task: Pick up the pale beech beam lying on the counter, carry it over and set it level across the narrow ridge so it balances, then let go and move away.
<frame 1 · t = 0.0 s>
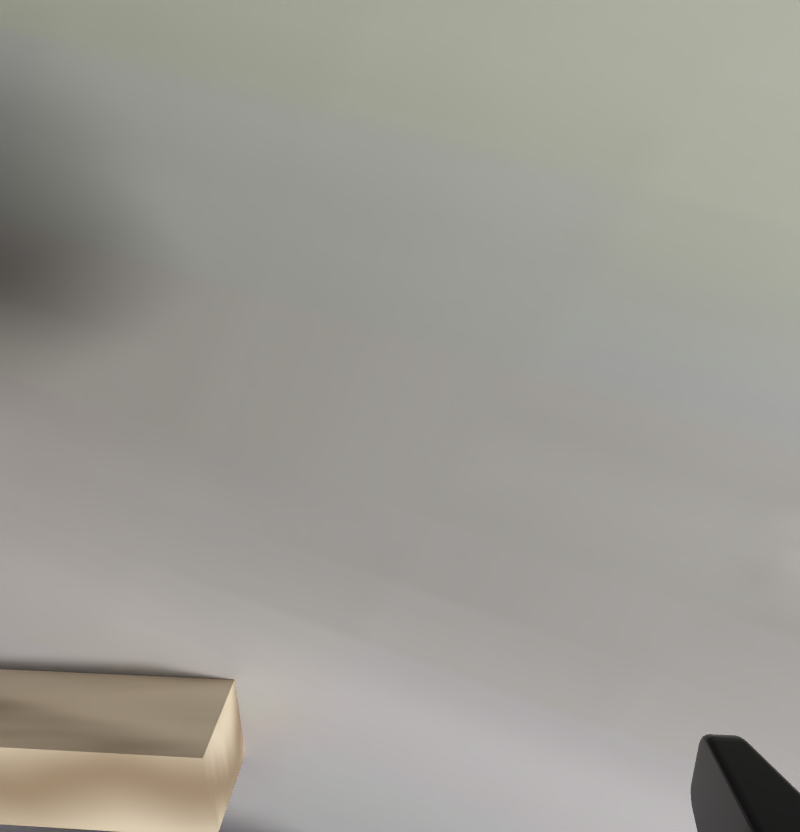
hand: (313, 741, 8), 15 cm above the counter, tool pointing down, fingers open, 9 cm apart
beam: (54, 703, 29), on the counter
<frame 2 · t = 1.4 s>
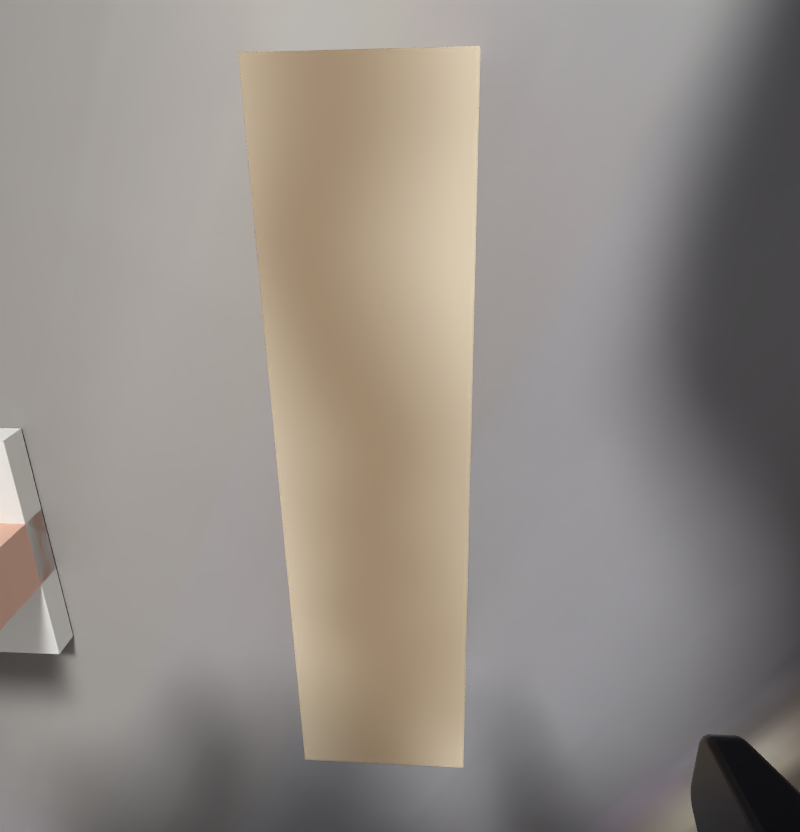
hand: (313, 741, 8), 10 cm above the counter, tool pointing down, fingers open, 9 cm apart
beam: (390, 409, 18), on the counter
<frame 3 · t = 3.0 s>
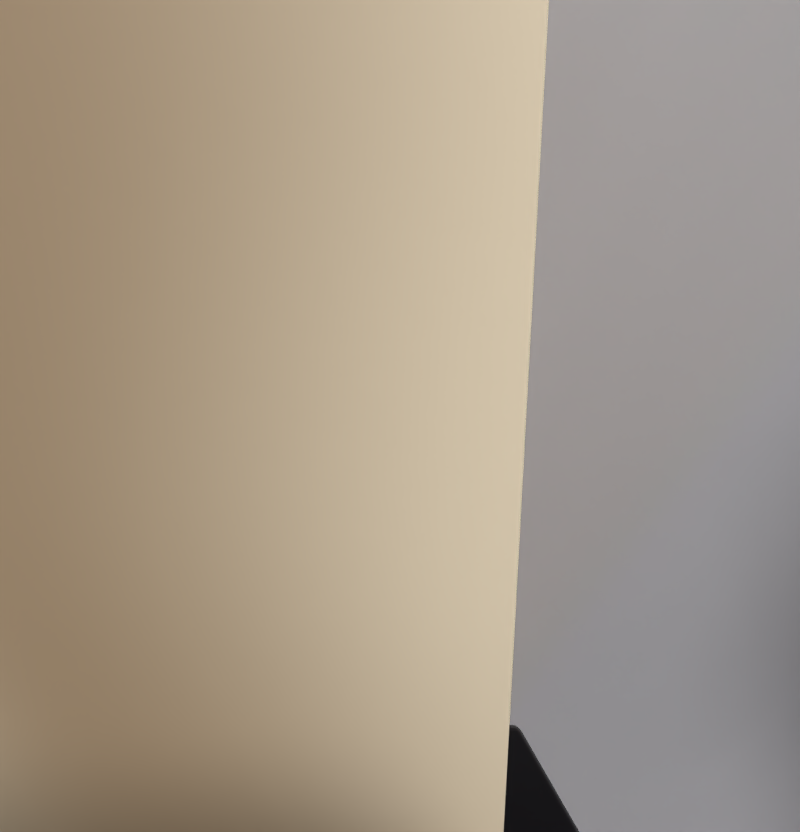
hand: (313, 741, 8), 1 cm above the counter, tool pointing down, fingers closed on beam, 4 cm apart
beam: (330, 667, 9), on the counter, touching gripper
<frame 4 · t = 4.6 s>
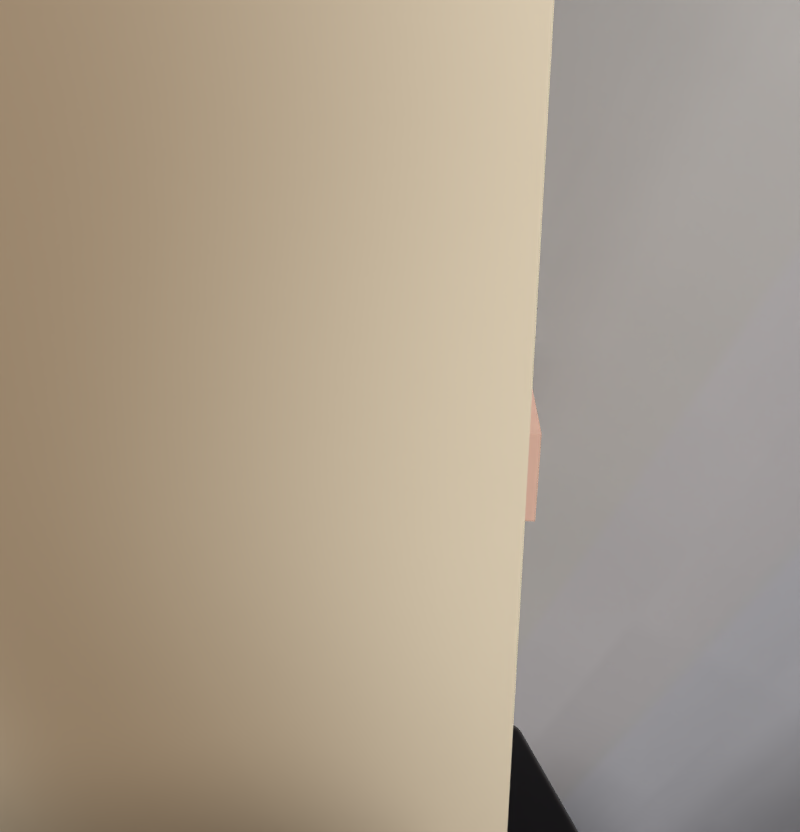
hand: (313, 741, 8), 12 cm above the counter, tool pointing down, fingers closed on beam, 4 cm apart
fulcrum: (373, 384, 19), on the counter
beam: (331, 673, 9), point 10 cm above the counter, touching gripper
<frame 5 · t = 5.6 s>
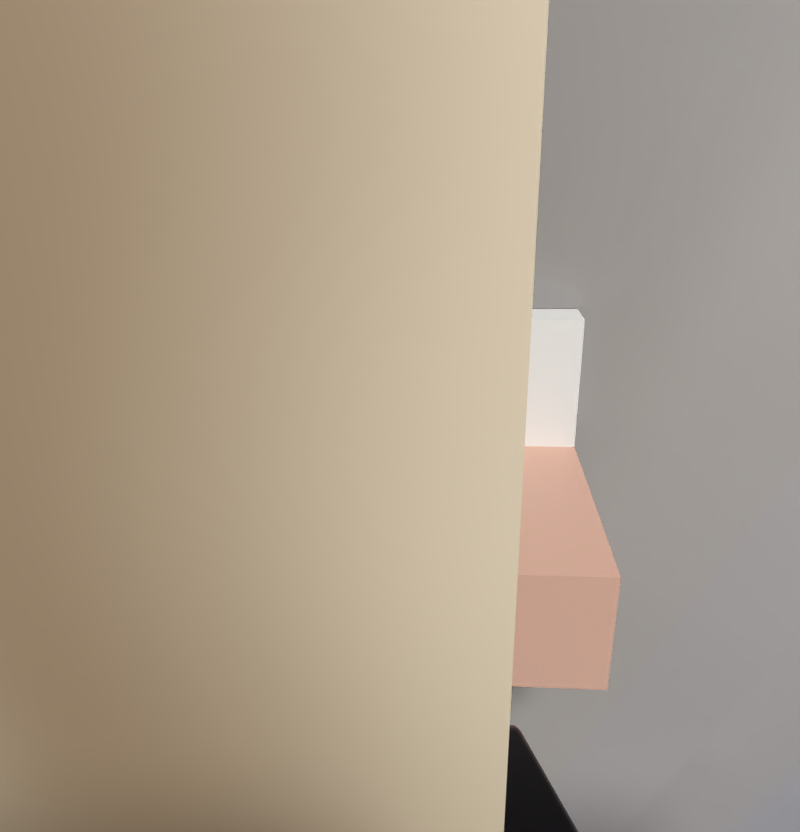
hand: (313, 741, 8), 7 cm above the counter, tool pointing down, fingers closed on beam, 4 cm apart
fulcrum: (373, 470, 15), on the counter
beam: (330, 673, 9), point 6 cm above the counter, touching gripper
when the fingers open (7 cm above the counter, at t = 6.3 s): beam stays where it is, resting on fulcrum.
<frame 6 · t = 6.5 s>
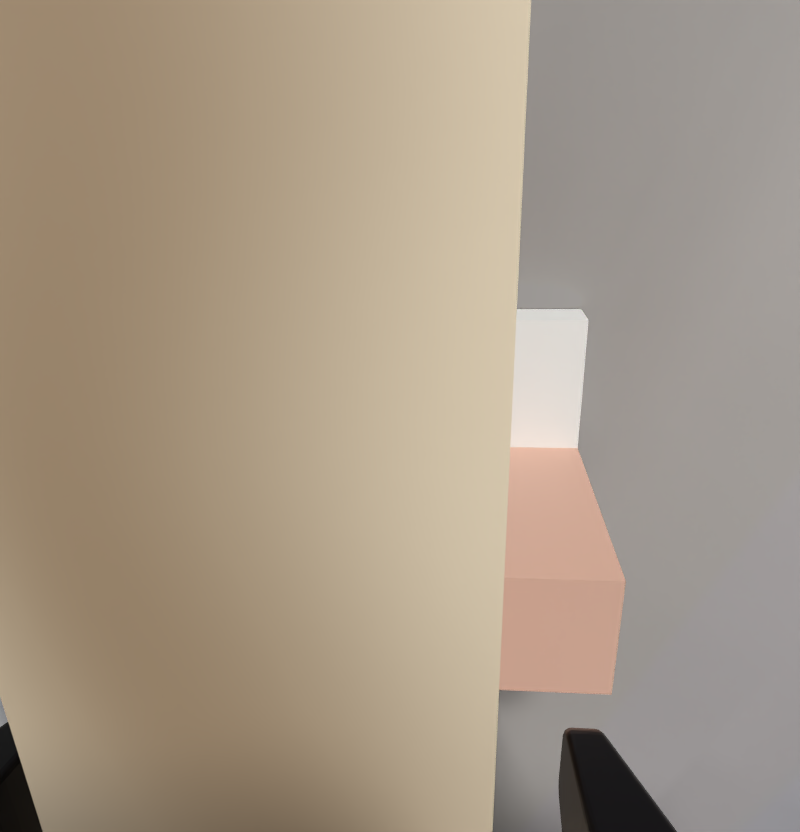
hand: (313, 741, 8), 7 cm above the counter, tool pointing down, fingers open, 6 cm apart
fulcrum: (375, 471, 15), on the counter
beam: (339, 630, 10), point 5 cm above the counter, touching fulcrum
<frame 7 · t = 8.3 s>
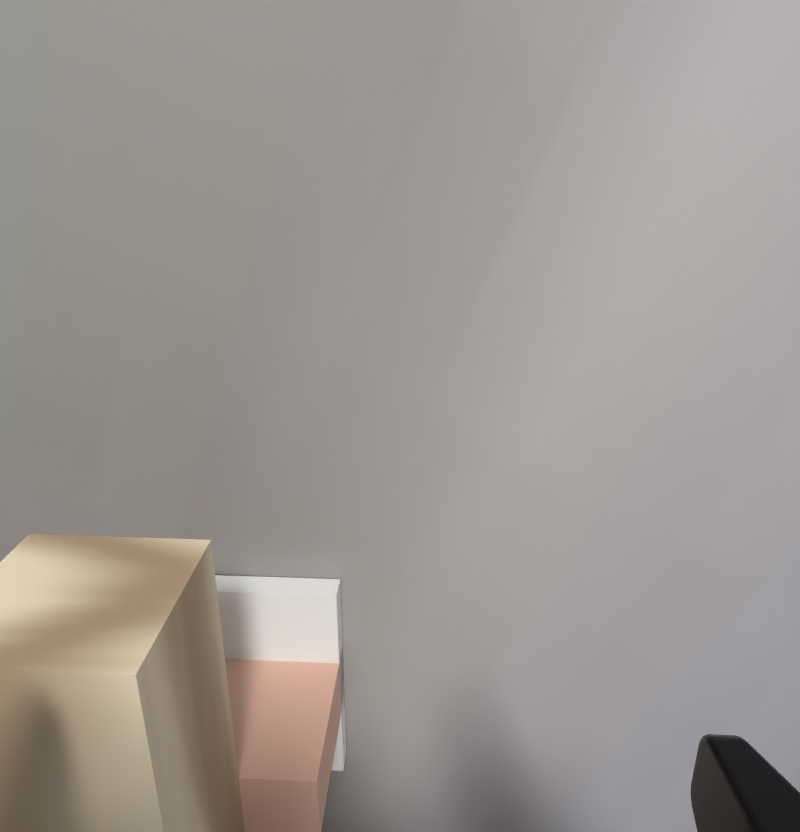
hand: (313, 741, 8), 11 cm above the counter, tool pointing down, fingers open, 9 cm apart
fulcrum: (220, 665, 23), on the counter
beam: (165, 802, 18), point 5 cm above the counter, touching fulcrum
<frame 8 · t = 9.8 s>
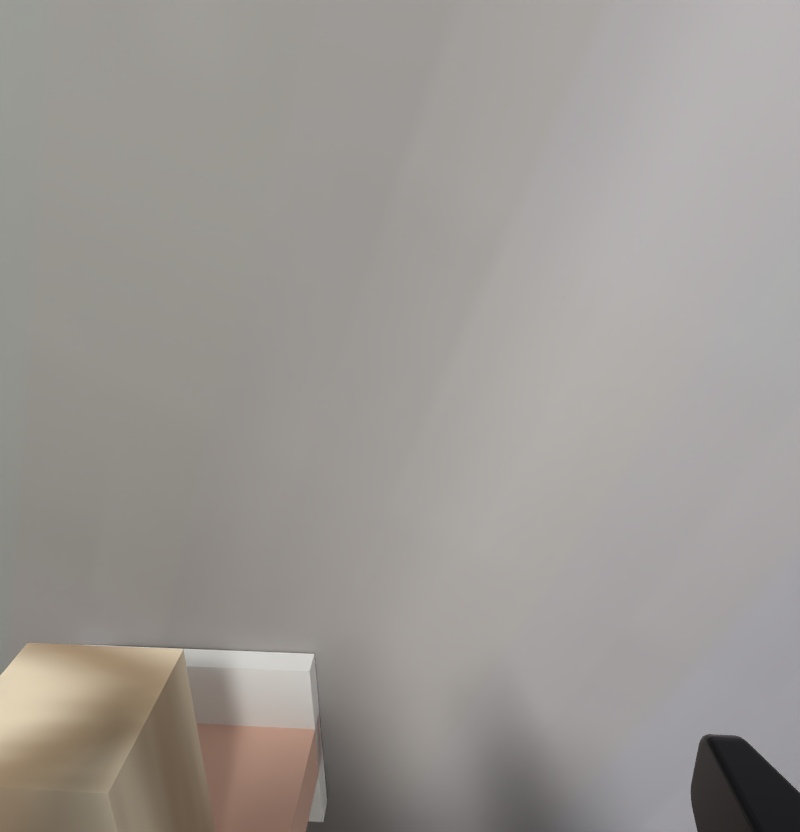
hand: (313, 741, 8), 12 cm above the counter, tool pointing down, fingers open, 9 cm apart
fulcrum: (210, 726, 25), on the counter
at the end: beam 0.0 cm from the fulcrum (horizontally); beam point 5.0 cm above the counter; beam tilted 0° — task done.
